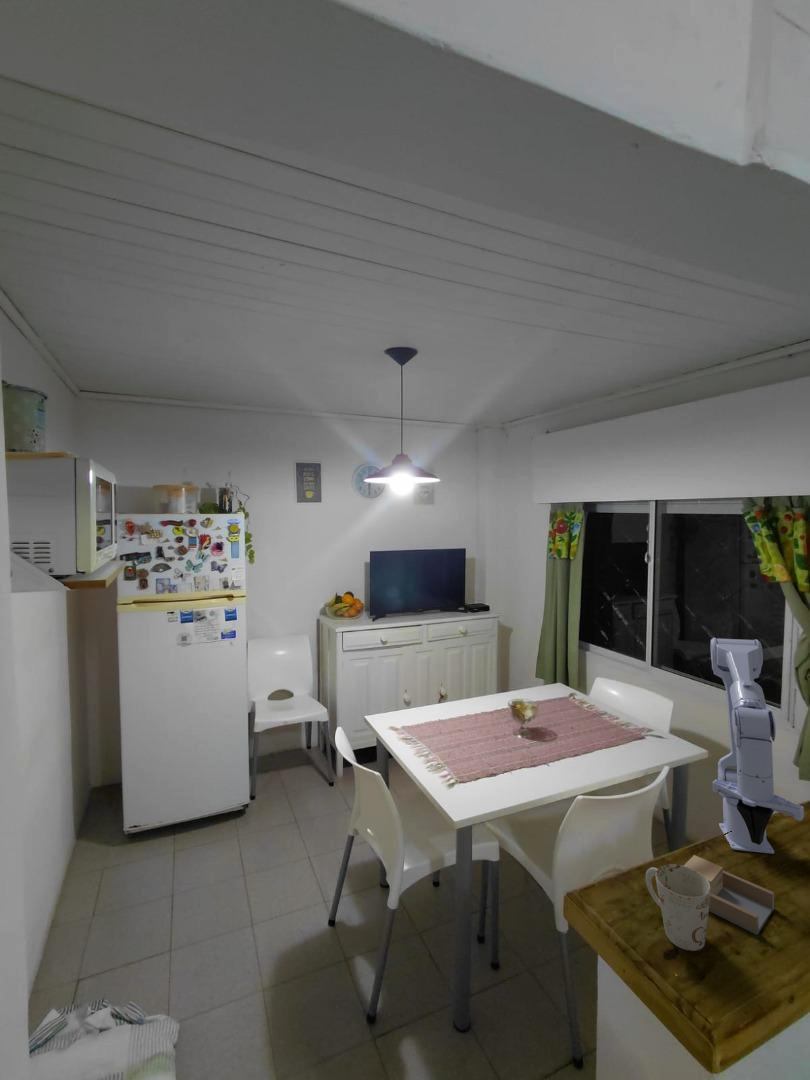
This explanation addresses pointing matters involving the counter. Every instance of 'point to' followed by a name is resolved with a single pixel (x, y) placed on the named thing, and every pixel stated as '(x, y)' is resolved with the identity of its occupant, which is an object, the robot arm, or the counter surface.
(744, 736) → the robot arm
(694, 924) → the mug
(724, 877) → the bay
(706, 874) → the tan wooden block
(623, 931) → the counter surface
